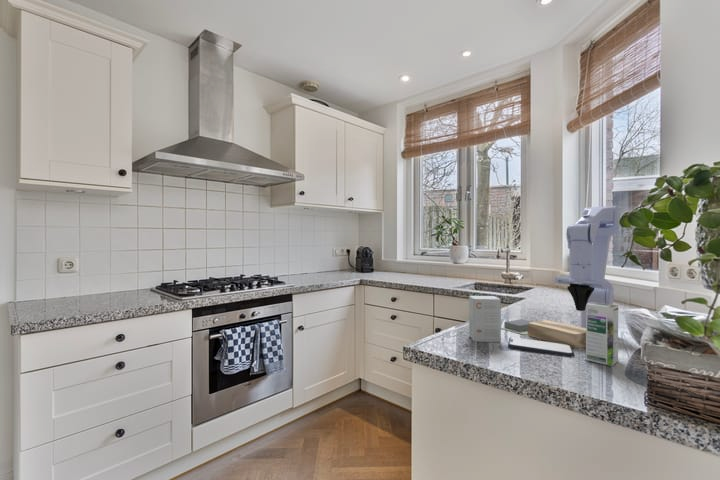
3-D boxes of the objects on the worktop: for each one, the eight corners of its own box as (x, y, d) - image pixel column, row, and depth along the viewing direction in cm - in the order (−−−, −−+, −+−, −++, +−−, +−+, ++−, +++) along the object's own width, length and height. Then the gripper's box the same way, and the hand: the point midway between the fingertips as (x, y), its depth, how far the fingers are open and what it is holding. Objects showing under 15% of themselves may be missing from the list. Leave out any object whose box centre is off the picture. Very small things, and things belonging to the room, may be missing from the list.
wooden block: (547, 331, 113) (547, 319, 113) (595, 343, 100) (595, 330, 100) (527, 335, 109) (527, 322, 109) (575, 348, 96) (575, 334, 96)
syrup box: (584, 360, 86) (585, 303, 86) (592, 355, 90) (592, 300, 90) (612, 367, 82) (612, 306, 82) (618, 361, 85) (619, 304, 85)
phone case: (570, 350, 96) (509, 341, 103) (570, 344, 96) (509, 336, 103) (574, 360, 88) (507, 349, 95) (574, 354, 88) (507, 344, 95)
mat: (523, 324, 123) (523, 323, 123) (546, 330, 115) (546, 329, 115) (499, 328, 117) (499, 327, 117) (522, 334, 109) (522, 333, 109)
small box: (494, 336, 107) (494, 295, 107) (501, 342, 101) (501, 299, 101) (468, 336, 108) (468, 295, 108) (473, 342, 102) (473, 298, 102)
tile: (537, 322, 116) (537, 328, 116) (521, 319, 122) (521, 324, 122) (519, 325, 112) (519, 331, 112) (504, 321, 117) (504, 327, 117)
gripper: (548, 263, 105) (548, 307, 105) (599, 266, 92) (599, 316, 92) (562, 262, 108) (562, 305, 108) (613, 265, 95) (613, 314, 95)
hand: (580, 310), depth 100 cm, fingers closed
